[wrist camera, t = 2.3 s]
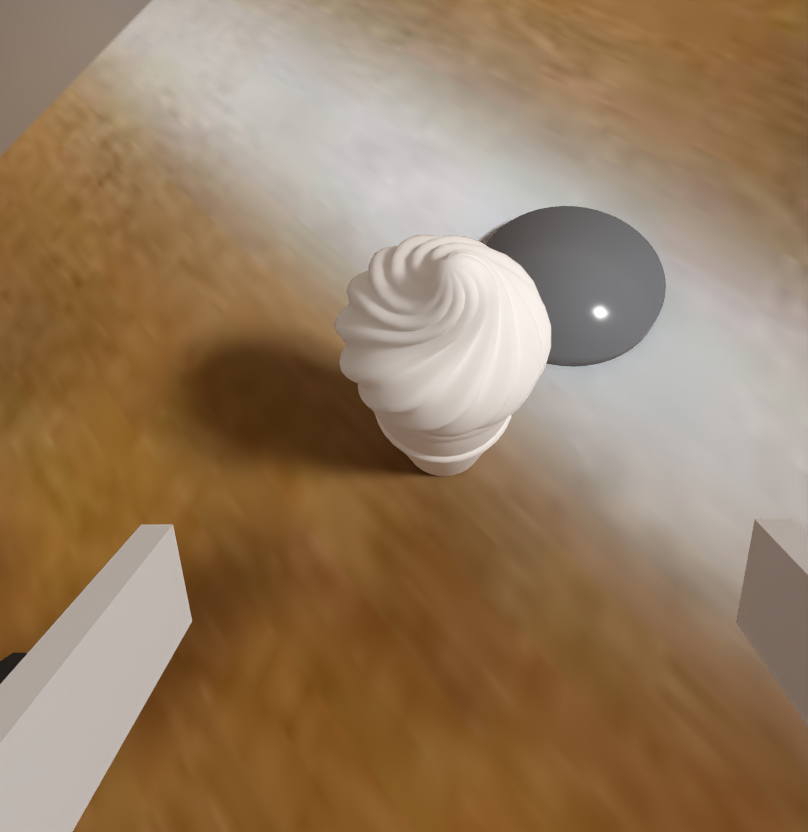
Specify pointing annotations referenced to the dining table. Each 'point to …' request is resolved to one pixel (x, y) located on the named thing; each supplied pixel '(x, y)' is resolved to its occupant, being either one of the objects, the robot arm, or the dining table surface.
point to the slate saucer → (587, 280)
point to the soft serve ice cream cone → (443, 346)
